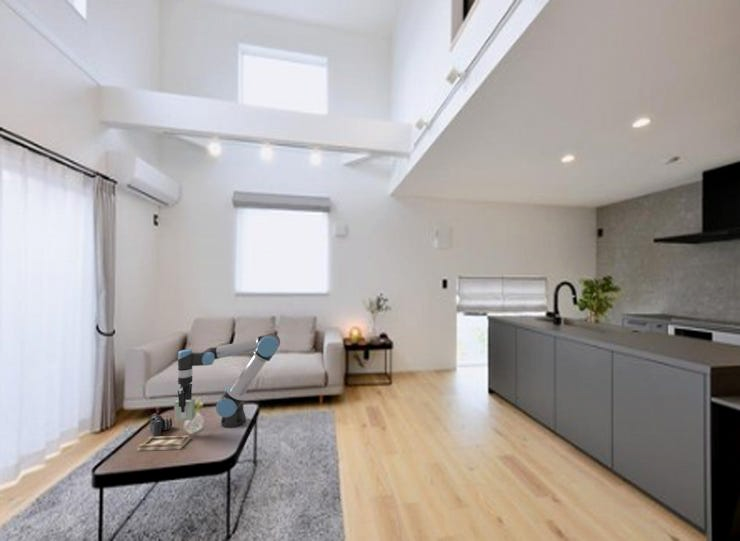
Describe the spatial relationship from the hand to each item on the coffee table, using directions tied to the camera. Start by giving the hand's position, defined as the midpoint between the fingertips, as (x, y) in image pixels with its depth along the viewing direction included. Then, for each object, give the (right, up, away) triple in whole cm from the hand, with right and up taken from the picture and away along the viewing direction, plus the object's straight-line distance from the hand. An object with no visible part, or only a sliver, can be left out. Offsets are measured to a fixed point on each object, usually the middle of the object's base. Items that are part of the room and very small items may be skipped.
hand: (185, 415), depth 196 cm
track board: (-5, -11, -12) cm, 17 cm away
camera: (-17, -11, +4) cm, 21 cm away
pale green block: (0, -2, 0) cm, 2 cm away
